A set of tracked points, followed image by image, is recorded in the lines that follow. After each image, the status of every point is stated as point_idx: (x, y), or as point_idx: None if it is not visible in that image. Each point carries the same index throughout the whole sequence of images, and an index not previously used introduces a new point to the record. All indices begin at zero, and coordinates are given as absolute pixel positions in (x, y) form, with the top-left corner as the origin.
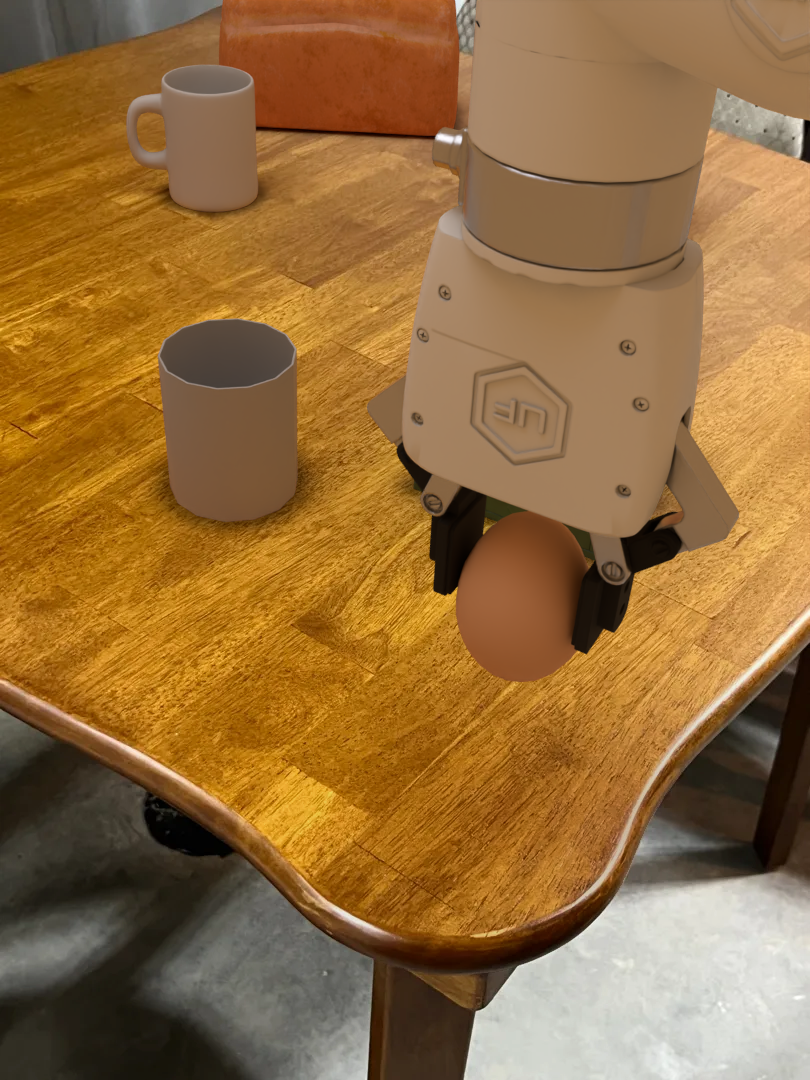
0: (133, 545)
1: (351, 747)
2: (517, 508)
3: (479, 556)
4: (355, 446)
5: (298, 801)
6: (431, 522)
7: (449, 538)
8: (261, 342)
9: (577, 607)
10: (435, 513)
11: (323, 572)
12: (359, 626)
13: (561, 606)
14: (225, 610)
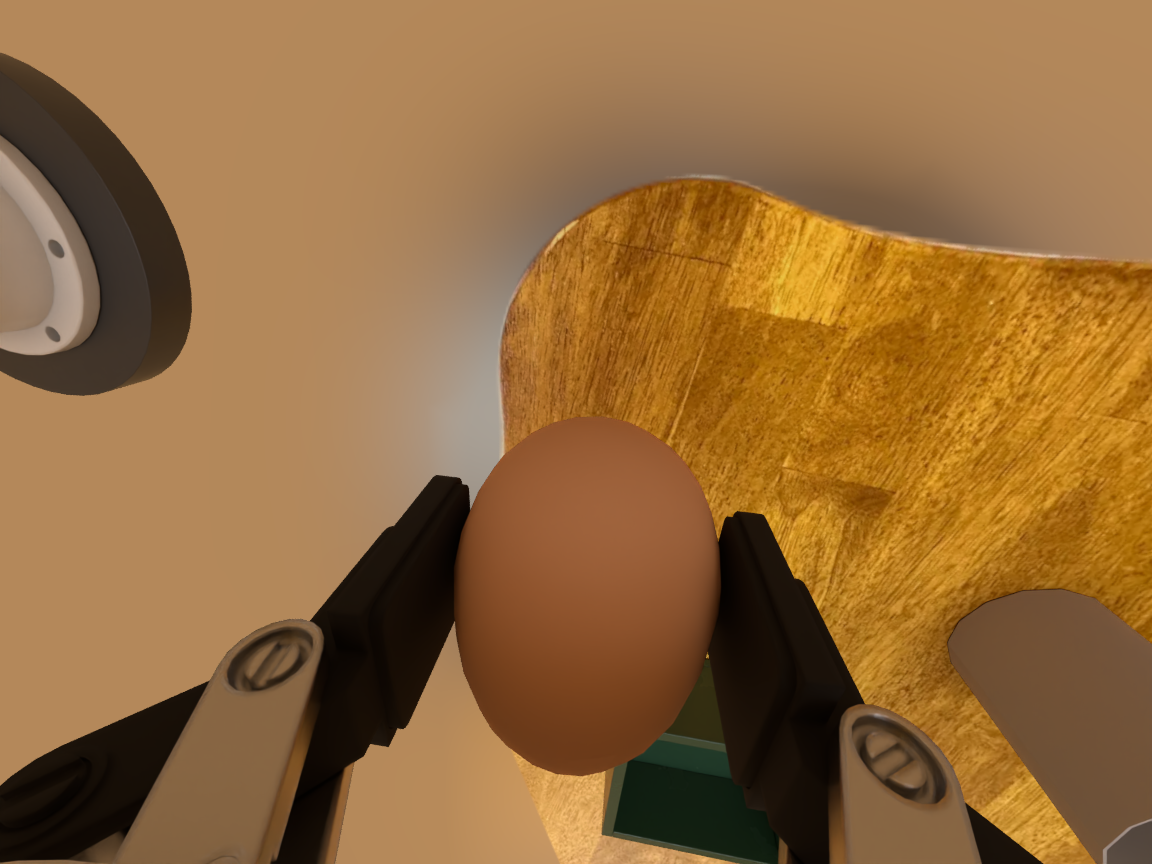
0: (1140, 529)
1: (774, 374)
2: (712, 682)
3: (683, 608)
4: (897, 710)
5: (808, 284)
6: (848, 673)
7: (782, 639)
8: (1144, 861)
9: (426, 545)
10: (865, 715)
11: (880, 563)
12: (818, 515)
13: (470, 541)
14: (982, 484)
